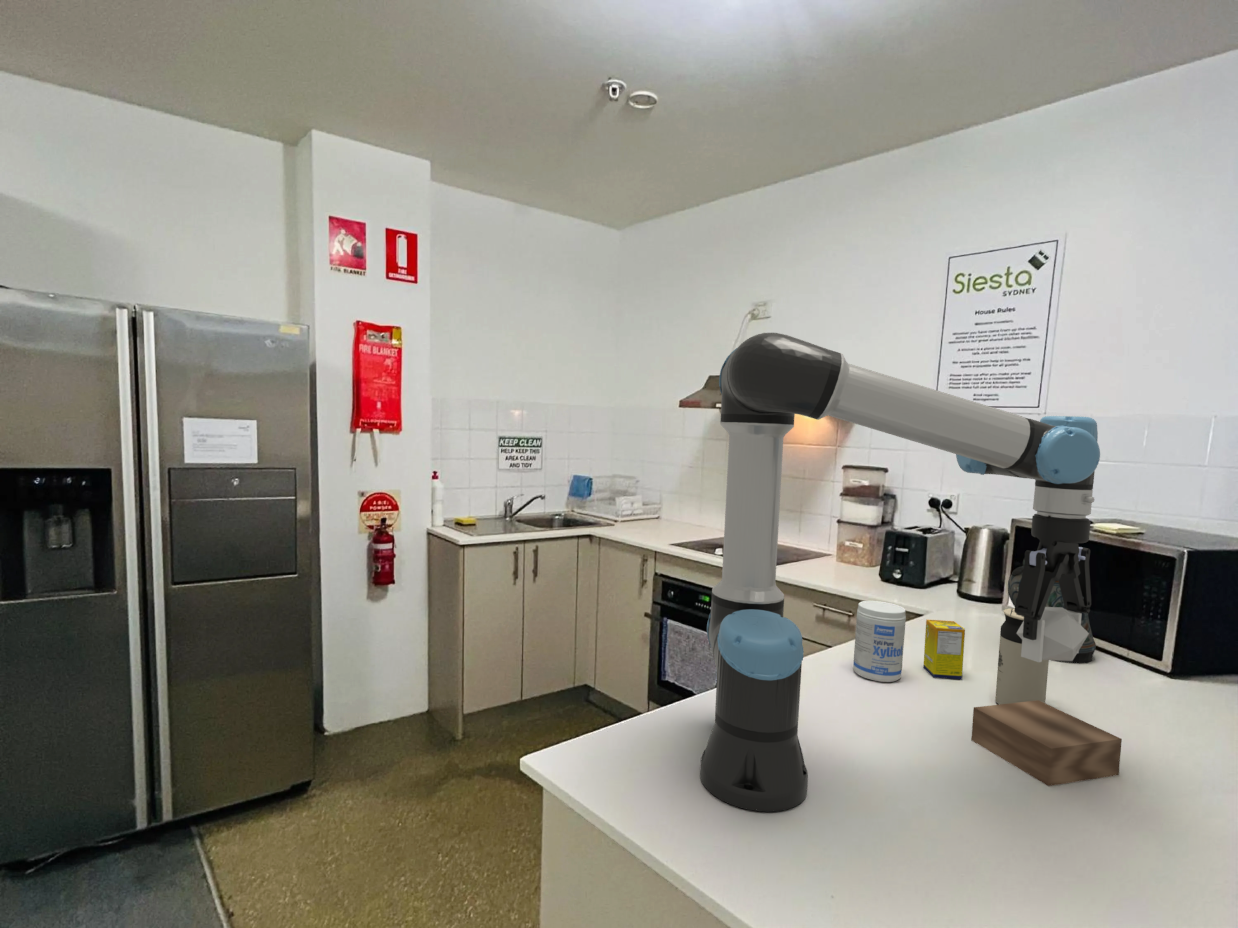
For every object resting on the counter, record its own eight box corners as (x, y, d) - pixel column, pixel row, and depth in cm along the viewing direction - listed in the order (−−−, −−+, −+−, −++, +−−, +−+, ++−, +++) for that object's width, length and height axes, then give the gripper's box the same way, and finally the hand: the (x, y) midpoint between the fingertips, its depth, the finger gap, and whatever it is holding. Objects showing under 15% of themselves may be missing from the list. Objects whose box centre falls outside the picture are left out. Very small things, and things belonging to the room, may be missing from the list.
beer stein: (1106, 656, 152) (1115, 552, 150) (1071, 671, 141) (1080, 559, 140) (1030, 636, 166) (1037, 540, 164) (993, 648, 155) (1001, 546, 153)
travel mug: (1048, 707, 121) (1055, 614, 120) (1039, 720, 116) (1047, 622, 115) (1000, 694, 127) (1007, 605, 126) (990, 705, 121) (997, 612, 120)
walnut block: (1048, 788, 94) (1051, 748, 93) (971, 741, 107) (973, 707, 107) (1118, 776, 98) (1121, 738, 97) (1035, 733, 111) (1038, 700, 111)
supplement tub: (876, 686, 129) (881, 614, 128) (842, 668, 137) (847, 601, 136) (912, 680, 132) (916, 610, 131) (877, 663, 141) (881, 598, 140)
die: (1085, 676, 95) (1107, 621, 98) (1031, 643, 97) (1055, 589, 99) (1048, 675, 103) (1070, 624, 106) (999, 644, 104) (1022, 595, 107)
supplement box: (950, 669, 139) (954, 620, 139) (962, 680, 134) (966, 628, 133) (922, 667, 140) (925, 618, 139) (932, 678, 134) (936, 626, 133)
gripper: (1045, 520, 92) (1033, 673, 93) (1125, 516, 102) (1114, 653, 103) (994, 513, 98) (983, 655, 100) (1074, 509, 108) (1064, 638, 110)
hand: (1050, 654), depth 101 cm, fingers closed on die, 9 cm apart
